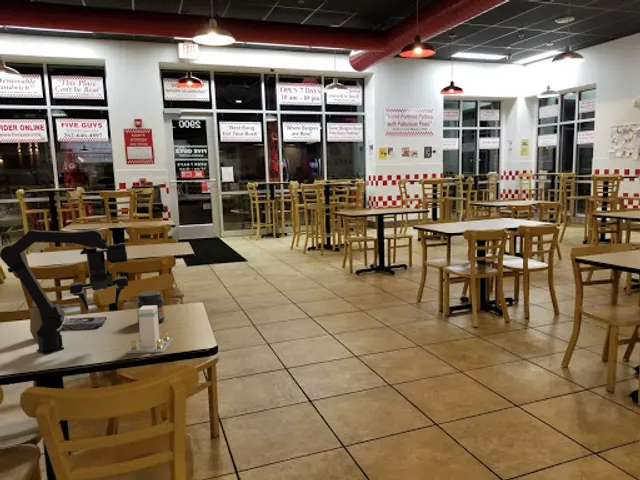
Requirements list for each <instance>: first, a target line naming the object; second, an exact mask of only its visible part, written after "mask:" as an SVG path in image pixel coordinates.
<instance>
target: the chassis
mask: <svg viewBox="0 0 640 480" xmlns="http://www.w3.org/2000/svg"><path fill="white" fill-rule="evenodd" d="M138 334H139V335H138V336H139V337H138V338H137V340H131V341H130V347H129V348H128V349H127V350H126V354H147V353H164V351H165V350H166V349H167V348H168V347H169V345H170V344H171V343H172V342H173V337H169V332H168V331H164V332H163V333H162V335H163V337H160V340H157V341H156V344H157V345H156V346H141V339H140V332H139V333H138Z"/></svg>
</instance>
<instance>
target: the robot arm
mask: <svg viewBox="0 0 640 480" xmlns="http://www.w3.org/2000/svg"><path fill="white" fill-rule="evenodd" d="M35 243H56V244H57V243H61V244H75V245H79V246H83V249H82V250H81V251H80V253H79V254H80V255H86V261H87V269H88V276H89V277H88V279H89V283H83V282H82V281H79V282H71V283H70V285H69V293H70V295H73V294H74V296H75V297H76V296H78V297H79V298H80V300H81V301H82V302H83V305H84V307H85V309H86V310H87V312H89V308H90V307H89V303H88V299H87V297H86V291H85V290H90V289H92V291H98V290H106V289H108V287H111V286H114V305H115V307H118V302H119V297H120V294H121V292H122V290H124V289H125V287H128V286H129V280H128V278H127V276H125V275H123V276H117V277H114V279H113V274H112V273H107V266H106V265H107V264H106V261H107V262H109V263H110V264H111V265H113V264H121V263H128V262H129V261H128V251H127V248H126V243H125V242H123V243H122V242H121V243H118V244H116V243H115V244H109V243H108V242H107V241H106V240H105V238H104V237H103V233H102V232H101V230H98V229H96V228H94V229H93V228H91V229H85V230H77V231H62V230H60V231H59V230H37V229H31V230H29V231H27V232H26V233H25V234H24V235H23V236H22V237H20V238H19V239H18V240H17V241H15V242H14V243H11V244H8V245H6V246H4V247H3V248H2V249H1V250H0V259H1V261H3V263H4V264H5V265H6V266H7V268H9V269H11V270H12V271H13V272H14V273H15V274H16V275H17V277H18V279H19V280H20V282H21V283H22V285H23V286H24V288H25V289H26V291H27V293H28V295H29V296H30V298H31V299H32V302H33V301H34V302H35V304H36V306H37V307H38V309H39V313H40V317H41V320H42V323H43V324H42V325H41V326H40V328H39V329H38V331H37V334H38V335H37V337H38V340H37V342H38V343H37V344H38V345H37V346H38V349H36V352H37V353H40V354H43V355H49V354H53V353H54V352H55V353H56V352H59V351H61V350H64V349H65V347H64V346H63V336H62V334H61V331H57V329H59V328H60V327H61V325H62V324H64V322H65V320H64V319H65V310H63V309H62V307H61V305H60V303H59V302H58V303H56V304H55V303H53V302H52V301H51V300H50V298H49V297H48V295H47V294H46V292H45V291H44V289H43V286H42V285H41V284H40V282H39V281H38V279H37V277H36V276H35V275H34V273H33V271H32V269H31V268H30V265H29V263H28V258H27V254H26V253H25V251H26V250H27V249H29V248H30V247H31V246H33V244H35ZM63 321H64V322H63Z"/></svg>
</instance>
